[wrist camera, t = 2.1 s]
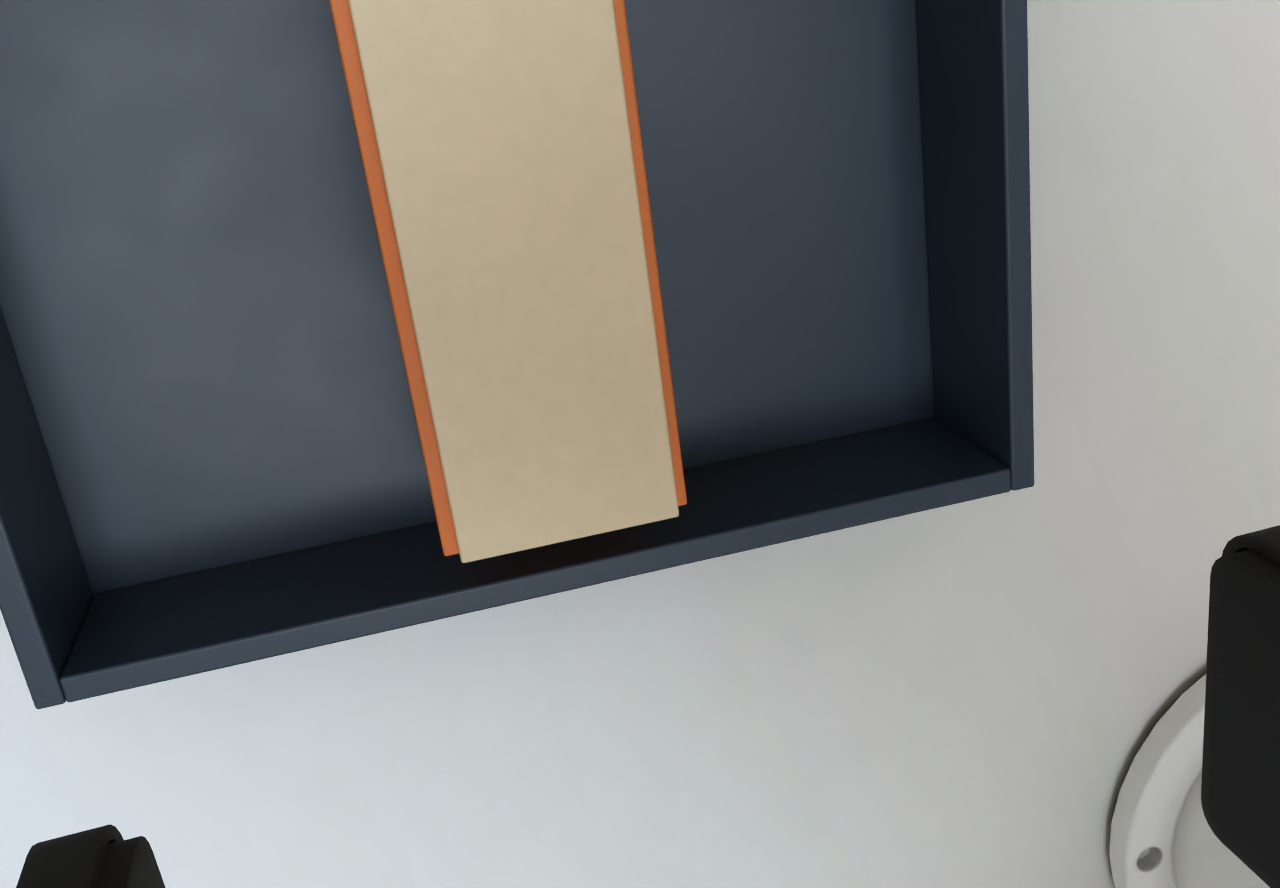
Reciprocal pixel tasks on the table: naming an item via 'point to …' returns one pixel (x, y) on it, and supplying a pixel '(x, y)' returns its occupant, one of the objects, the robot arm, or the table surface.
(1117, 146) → the table surface
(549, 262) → the orange cream block
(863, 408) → the parts bin
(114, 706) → the table surface
